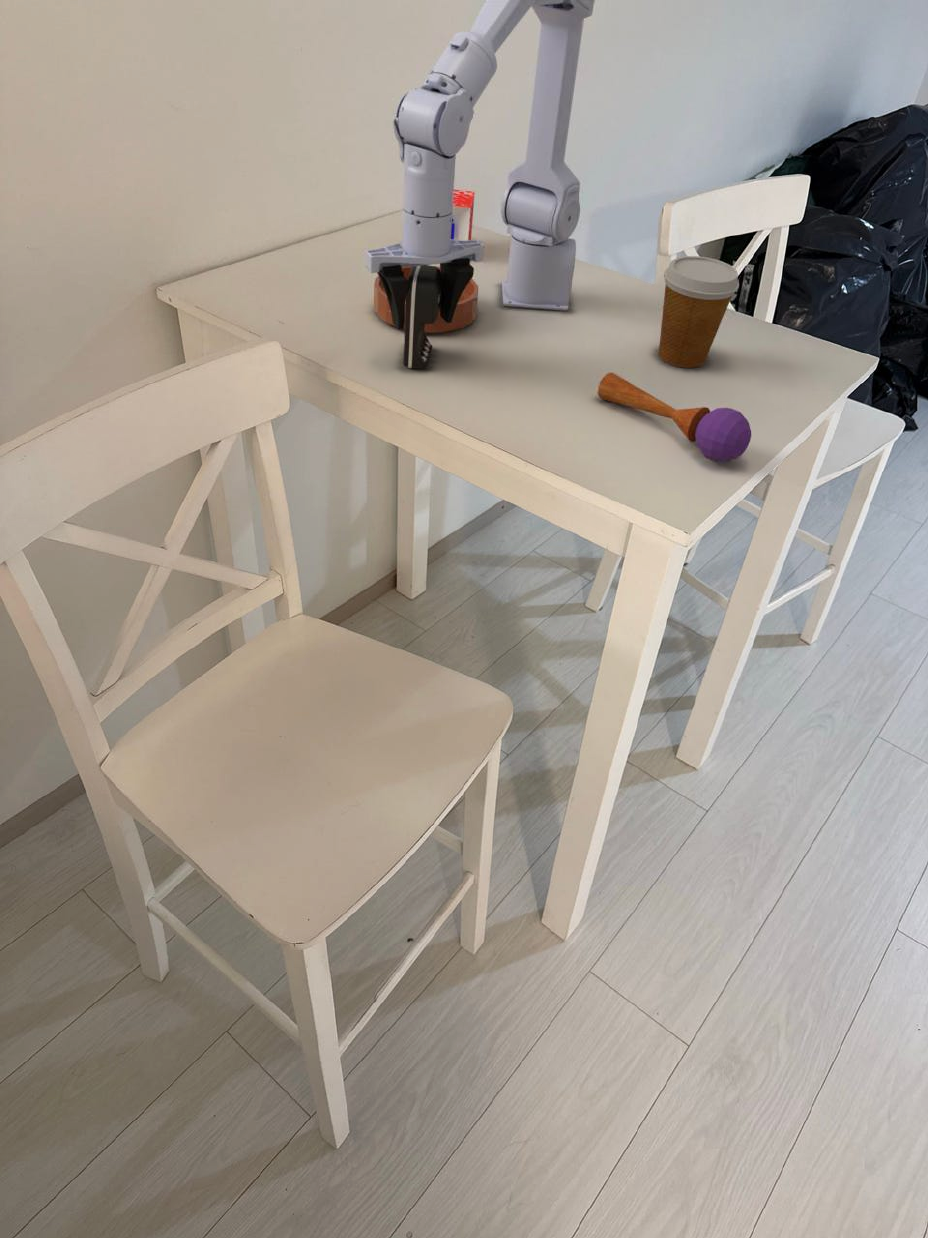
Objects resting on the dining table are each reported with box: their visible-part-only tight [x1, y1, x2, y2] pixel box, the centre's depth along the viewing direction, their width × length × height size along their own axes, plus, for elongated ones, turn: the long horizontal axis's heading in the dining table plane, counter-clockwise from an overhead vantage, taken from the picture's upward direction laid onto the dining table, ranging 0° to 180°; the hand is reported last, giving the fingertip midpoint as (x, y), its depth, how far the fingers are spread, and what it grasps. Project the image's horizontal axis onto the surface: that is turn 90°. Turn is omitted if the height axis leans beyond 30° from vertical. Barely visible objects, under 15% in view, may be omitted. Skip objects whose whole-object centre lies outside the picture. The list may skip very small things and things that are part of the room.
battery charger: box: [403, 265, 442, 369], centre depth 113 cm, size 7×4×11 cm, turn 175°
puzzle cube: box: [451, 189, 476, 241], centre depth 143 cm, size 8×8×8 cm
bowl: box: [373, 265, 479, 333], centre depth 126 cm, size 14×14×4 cm
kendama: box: [597, 372, 752, 463], centre depth 106 cm, size 6×6×20 cm
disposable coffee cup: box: [658, 255, 740, 369], centre depth 118 cm, size 10×10×12 cm
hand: (422, 322), depth 113 cm, fingers closed on battery charger, 6 cm apart
